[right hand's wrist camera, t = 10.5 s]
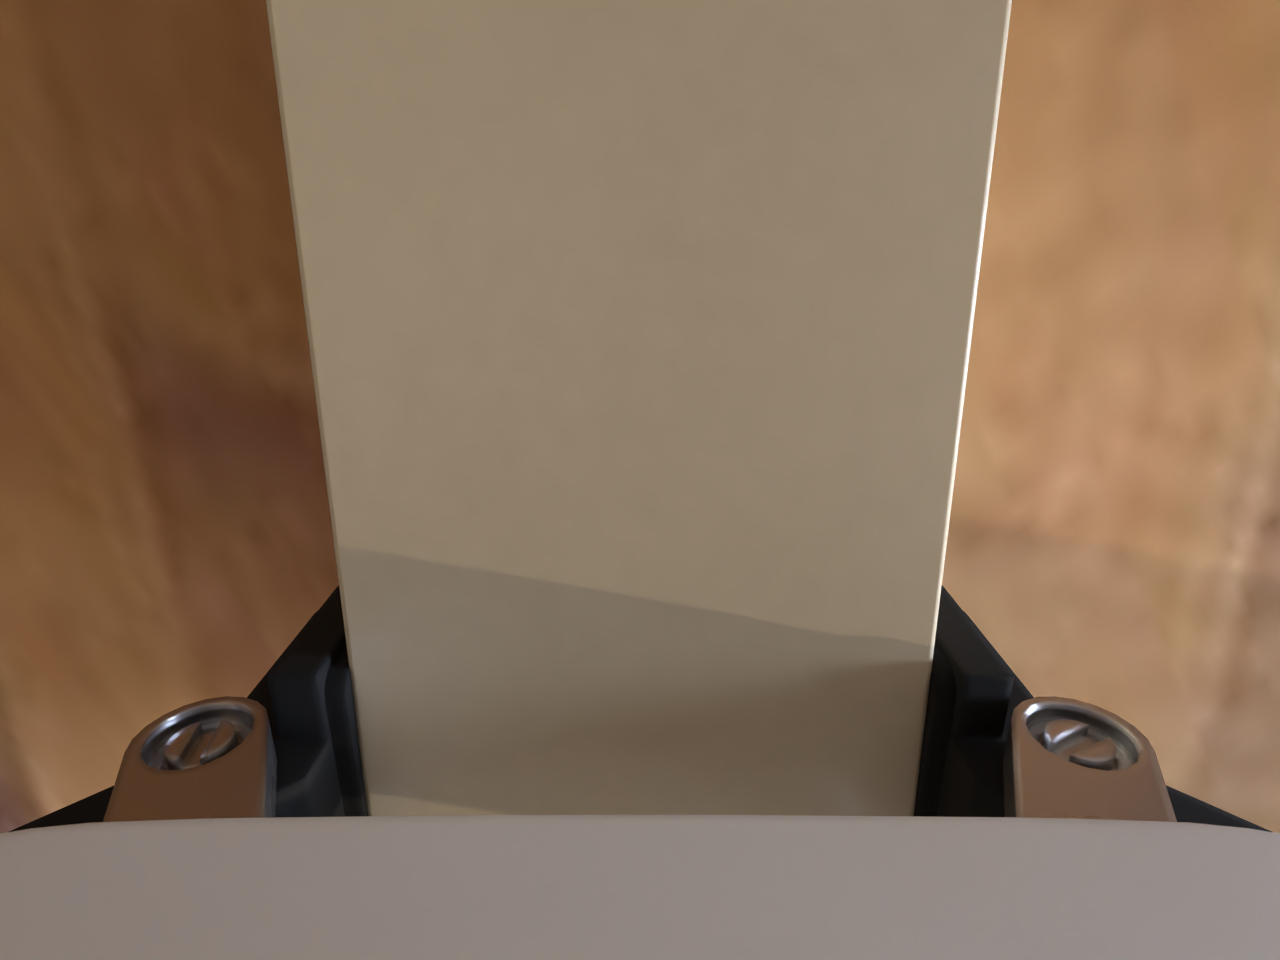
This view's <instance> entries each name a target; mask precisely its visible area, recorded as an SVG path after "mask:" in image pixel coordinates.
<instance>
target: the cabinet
mask: <svg viewBox="0 0 1280 960" xmlns="http://www.w3.org/2000/svg"><path fill="white" fill-rule="evenodd" d="M1011 4H1012V0H266V6H267V14H268V22H269V30H270V38H271V46H272V54H273V62H274V70H275V78H276V86H277V94H278V102H279V110H280V118H281V126H282V134H283V142H284V150H285V158H286V166H287V174H288V182H289V190H290V198H291V206H292V214H293V222H294V230H295V238H296V245H297V253H298V261H299V269H300V277H301V285H302V293H303V301H304V309H305V317H306V325H307V333H308V341H309V349H310V357H311V365H312V373H313V381H314V389H315V397H316V405H317V413H318V421H319V429H320V437H321V445H322V453H323V461H324V469H325V477H326V485H327V493H328V501H329V509H330V517H331V525H332V533H333V541H334V549H335V557H336V565H337V573H338V580H339V588H340V596H341V604H342V612H343V620H344V628H345V636H346V644H347V652H348V660H349V667H350V675H351V683H352V691H353V699H354V708H355V716H356V724H357V732H358V740H359V748H360V756H361V764H362V772H363V780H364V788H365V796H366V804H367V812H368V816H449V815H809V816H914V810H915V802H916V794H917V786H918V777H919V769H920V761H921V752H922V744H923V736H924V727H925V719H926V711H927V702H928V694H929V686H930V678H931V669H932V661H933V653H934V644H935V636H936V628H937V619H938V611H939V603H940V594H941V586H942V578H943V569H944V561H945V553H946V545H947V536H948V528H949V520H950V511H951V503H952V495H953V486H954V478H955V470H956V461H957V453H958V445H959V436H960V428H961V420H962V412H963V403H964V395H965V387H966V378H967V370H968V362H969V353H970V345H971V337H972V328H973V320H974V312H975V303H976V295H977V287H978V279H979V270H980V262H981V254H982V245H983V237H984V229H985V220H986V212H987V204H988V195H989V187H990V179H991V170H992V162H993V154H994V146H995V137H996V129H997V121H998V112H999V104H1000V96H1001V87H1002V79H1003V71H1004V62H1005V54H1006V46H1007V37H1008V29H1009V21H1010V13H1011Z"/></svg>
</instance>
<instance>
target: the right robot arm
mask: <svg viewBox="0 0 1280 960" xmlns="http://www.w3.org/2000/svg"><path fill="white" fill-rule="evenodd" d="M0 960H1280V834H1279V833H1273V832H1271V831H1269V830H1267V829H1264V828H1262V827H1260V826H1257V825H1255V824H1253V823H1251V822H1248V821H1246V820H1244V819H1241V818H1239V817H1237V816H1235V815H1232V814H1230V813H1228V812H1225V811H1223V810H1221V809H1219V808H1216V807H1214V806H1212V805H1210V804H1207V803H1205V802H1203V801H1200V800H1198V799H1196V798H1194V797H1191V796H1189V795H1187V794H1184V793H1182V792H1180V791H1178V790H1175V789H1173V788H1171V787H1169V786H1166V785H1165V782H1164V779H1163V775H1162V772H1161V769H1160V766H1159V763H1158V760H1157V756H1156V753H1155V751H1154V749H1153V748H1152V746H1151V744H1150V742H1149V741H1148V739H1147V738H1146V737H1145V736H1144V735H1143V734H1142V733H1141V732H1139V731H1138V730H1137V729H1136V728H1135V727H1134V726H1133V725H1131V724H1130V723H1128V722H1127V721H1125V720H1123V719H1122V718H1120V717H1119V716H1117V715H1115V714H1113V713H1111V712H1109V711H1107V710H1104V709H1102V708H1100V707H1098V706H1095V705H1092V704H1089V703H1085V702H1082V701H1078V700H1075V699H1068V698H1061V697H1035V698H1034V697H1033V696H1032V695H1031V694H1030V692H1029V691H1028V690H1027V689H1026V687H1025V686H1024V685H1023V684H1022V682H1021V681H1020V680H1019V679H1018V677H1017V676H1016V675H1015V674H1014V672H1013V671H1012V670H1011V669H1010V667H1009V666H1008V665H1007V664H1006V662H1005V661H1004V660H1003V659H1002V658H1001V656H1000V655H999V654H998V653H997V651H996V650H995V649H994V648H993V646H992V645H991V644H990V643H989V641H988V640H987V639H986V638H985V636H984V635H983V634H982V633H981V631H980V630H979V629H978V628H977V626H976V625H975V624H974V623H973V621H972V620H971V619H970V618H969V616H968V615H967V614H966V613H965V612H964V611H963V610H962V609H961V608H960V607H959V606H958V604H957V603H956V602H955V601H954V599H953V598H952V597H951V596H950V594H949V593H948V592H947V591H946V589H945V588H944V587H943V586H941V594H940V603H939V611H938V619H937V628H936V636H935V644H934V653H933V661H932V669H931V678H930V686H929V694H928V702H927V711H926V719H925V727H924V736H923V744H922V752H921V761H920V769H919V777H918V786H917V794H916V802H915V810H914V816H809V815H449V816H368V812H367V804H366V796H365V788H364V780H363V772H362V764H361V756H360V748H359V740H358V732H357V724H356V716H355V708H354V699H353V691H352V683H351V675H350V667H349V660H348V652H347V644H346V636H345V628H344V620H343V612H342V604H341V596H340V588H339V586H338V587H337V588H336V589H335V591H334V592H333V593H332V594H331V596H330V597H329V598H328V599H327V601H326V602H325V603H324V604H323V606H322V607H321V608H320V609H319V610H318V611H317V612H316V613H315V614H314V615H313V616H312V618H311V619H310V620H309V621H308V623H307V624H306V625H305V626H304V628H303V629H302V630H301V631H300V633H299V634H298V635H297V636H296V638H295V639H294V640H293V641H292V643H291V644H290V645H289V646H288V647H287V649H286V650H285V651H284V652H283V654H282V655H281V656H280V657H279V659H278V660H277V661H276V662H275V664H274V665H273V666H272V667H271V669H270V670H269V671H268V672H267V674H266V675H265V676H264V677H263V679H262V680H261V681H260V682H259V684H258V685H257V686H256V687H255V689H254V690H253V691H252V692H251V694H250V695H249V696H248V697H247V698H245V697H219V698H212V699H205V700H202V701H198V702H195V703H191V704H188V705H185V706H182V707H180V708H178V709H176V710H173V711H171V712H169V713H167V714H165V715H163V716H161V717H160V718H158V719H157V720H155V721H153V722H152V723H150V724H149V725H147V726H146V727H145V728H144V729H143V730H142V731H141V732H139V733H138V734H137V735H136V736H135V737H134V738H133V739H132V741H131V742H130V744H129V746H128V748H127V749H126V751H125V753H124V756H123V760H122V763H121V766H120V769H119V772H118V775H117V779H116V782H115V785H114V786H112V787H110V788H108V789H105V790H103V791H101V792H98V793H96V794H94V795H92V796H89V797H87V798H85V799H82V800H80V801H78V802H76V803H73V804H71V805H69V806H67V807H64V808H62V809H60V810H57V811H55V812H53V813H51V814H48V815H46V816H44V817H41V818H39V819H37V820H35V821H32V822H30V823H28V824H25V825H23V826H21V827H19V828H16V829H14V830H12V831H9V832H7V833H1V834H0Z"/></svg>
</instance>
